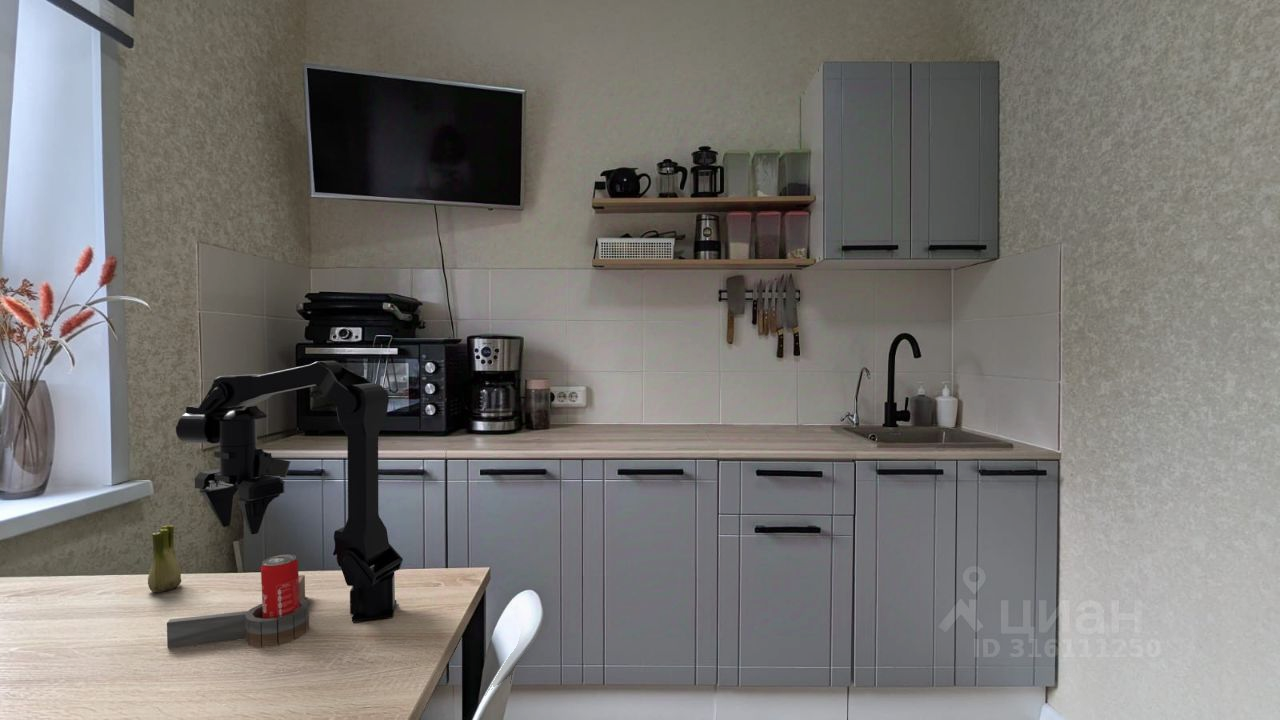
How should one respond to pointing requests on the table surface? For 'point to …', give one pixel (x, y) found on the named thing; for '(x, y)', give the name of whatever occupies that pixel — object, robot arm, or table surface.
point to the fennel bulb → (164, 562)
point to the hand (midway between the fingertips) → (240, 530)
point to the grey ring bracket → (241, 626)
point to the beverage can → (280, 586)
